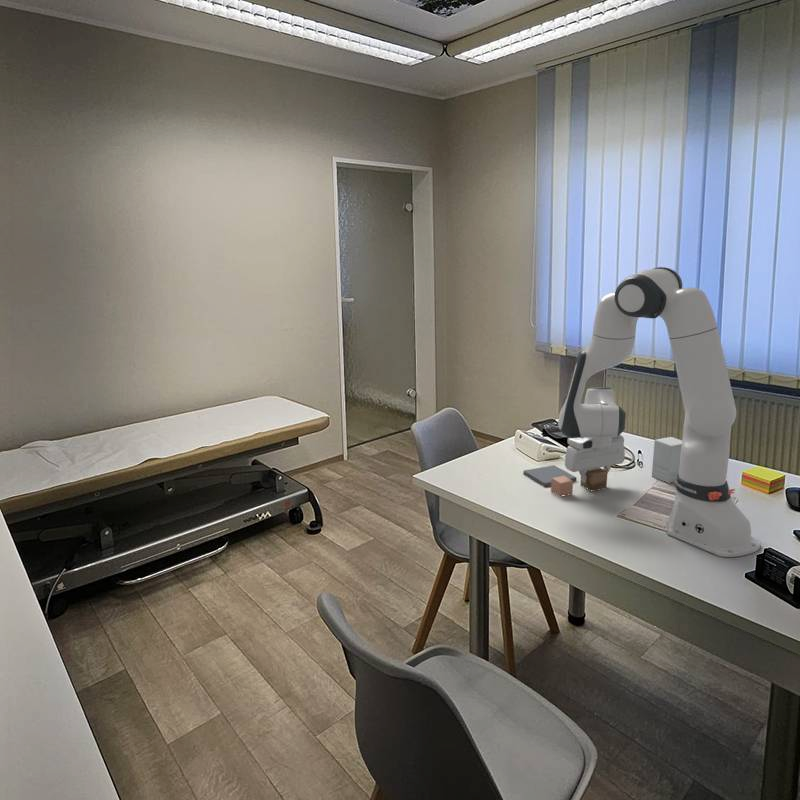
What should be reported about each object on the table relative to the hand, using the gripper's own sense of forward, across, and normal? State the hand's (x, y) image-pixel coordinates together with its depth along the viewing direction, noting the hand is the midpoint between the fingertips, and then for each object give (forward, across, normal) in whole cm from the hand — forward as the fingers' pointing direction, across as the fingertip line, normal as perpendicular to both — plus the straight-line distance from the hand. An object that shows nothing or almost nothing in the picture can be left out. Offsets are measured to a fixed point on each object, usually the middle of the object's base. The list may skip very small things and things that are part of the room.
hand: (593, 480), depth 190 cm
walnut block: (+2, 0, 0) cm, 2 cm away
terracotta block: (+2, +12, 0) cm, 12 cm away
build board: (+2, +8, -12) cm, 15 cm away
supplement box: (+2, -26, +4) cm, 27 cm away
